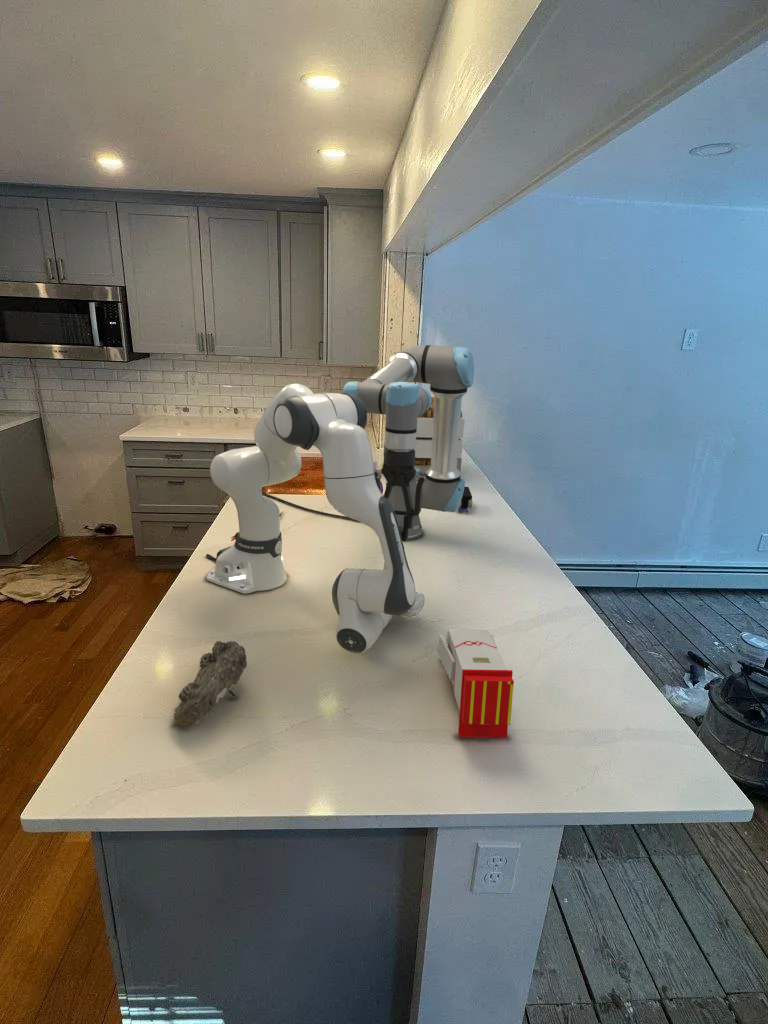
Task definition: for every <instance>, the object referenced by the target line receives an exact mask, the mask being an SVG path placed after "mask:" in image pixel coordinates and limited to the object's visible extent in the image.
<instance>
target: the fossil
mask: <svg viewBox="0 0 768 1024" xmlns="http://www.w3.org/2000/svg"><path fill="white" fill-rule="evenodd" d="M247 666H248V661H247V652H246V648H244V646H242V645H240V644H239V642H237V641H236V640H229V641H227V642H225V641H221V640H217V641H216V642H214V644H213V646H212V648H211V652H206V653H204V654H203V655H202V656H201V657H200V661H199V667H200V669H199V670H198V673H197V674H196V676H195V678H194V680H193V682H189V683H187V684H186V686H184V687H182V689H181V690H180V692H179V694H178V699H179V700H180V701H181V702H180V703H179V705H178V706H177V707H176V708H175V709H174V712H175V713H173V716H174V717H173V718H174V723H175V725H176V724H177V725H180V726H181V727H187V726H192V725H198V724H200V723H201V721H203V719H204V718H206V717H207V716H209V715H210V713H211V712H212V711H213V710H214V709H215V708H216V707H218V705H220V704H221V703H222V701H223V700H224V697H226V696H227V695H228V694H230V695H231V696H232V697H233V698H235V697H236V694H235V693H234V692H233V691H232V688H233V686H235V685H237V684H238V682H239V681H240V680H241V676H242V674H243V673H244V670H245V669H247Z"/></svg>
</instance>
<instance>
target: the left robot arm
mask: <svg viewBox="0 0 768 1024" xmlns="http://www.w3.org/2000/svg"><path fill="white" fill-rule="evenodd" d="M367 422H368V413H367V411H366V407H365V405H364V403H363V401H362V400H361V399H360V398H359V397H357V396H355V395H353V394H349V393H343V392H339V393H336V392H318V393H314V392H313V391H312V390H311V389H310V388H309V387H308V386H306V385H304V384H301V383H289V384H287V385H285V386H284V387H283V388H282V389H280V391H278V393H276V395H275V396H274V397H273V399H272V400H271V401H270V403H269V404H268V406H267V407H266V408H265V410H264V412H263V414H262V415H261V417H260V419H259V420H258V422H257V423H256V426H255V428H254V431H253V438H254V443H255V445H253V446H246V447H240V448H233V449H232V448H231V449H229V450H227V451H224V452H221V453H219V454H216V455H215V456H214V457H213V459H212V461H211V463H210V467H209V473H210V479H211V481H212V482H213V484H214V486H215V487H216V488H217V489H218V490H220V491H222V492H223V493H225V494H226V495H228V496H229V497H230V498H231V500H232V502H234V505H235V508H236V512H237V519H238V530H239V531H237V532H236V533H235V534H234V535H233V536H231V537H230V541H231V542H233V541H234V544H232V545H229V546H227V547H225V548H222V549H219V551H217V552H216V557H214V556H213V555H211V554H209V553H206V555H205V556H206V557H207V558H208V559H210V560H211V561H213V562H215V564H214V567H213V568H212V569H210V571H208V573H207V575H206V580H207V581H208V582H210V583H213V584H216V585H219V586H221V587H224V588H227V589H230V590H233V591H235V592H238V593H240V594H245V595H246V594H250V593H254V592H260V591H269V590H273V589H276V588H279V587H281V586H283V584H285V583H286V581H287V580H288V579H287V578H288V577H287V574H286V571H285V567H284V563H283V560H284V558H283V556H282V552H283V551H282V550H283V537H282V532H281V521H280V520H281V519H280V518H281V516H280V514H281V512H280V508H279V506H278V505H277V503H276V502H275V501H273V500H272V499H271V498H269V497H265V496H264V495H262V492H263V491H262V490H263V488H264V487H268V486H274V485H277V484H283V483H285V482H287V481H289V480H292V479H294V478H295V477H298V475H299V474H300V472H301V469H302V465H303V461H302V457H301V454H300V452H299V450H298V449H297V448H298V447H299V448H301V449H302V450H306V451H309V450H310V449H312V447H315V448H316V449H317V450H318V451H319V452H320V454H321V457H322V472H323V483H324V484H323V485H324V492H325V496H326V499H327V501H328V503H329V505H330V506H331V507H332V508H333V509H334V510H335V511H336V512H338V513H339V514H341V515H342V516H346V517H349V518H352V519H354V520H357V521H356V522H358V521H360V523H362V524H364V525H365V526H367V527H369V528H370V529H371V530H373V532H375V534H376V536H377V538H378V541H379V543H380V545H379V546H380V549H381V553H382V557H383V562H384V561H385V565H386V570H384V569H381V568H380V569H378V568H377V569H375V568H360V567H353V568H352V567H350V568H349V567H346V568H343V570H341V571H340V573H339V574H338V575H337V577H336V578H335V579H334V581H333V584H332V587H331V600H332V605H333V608H334V609H335V611H336V613H337V615H338V617H339V619H338V620H339V621H338V625H337V627H336V631H335V638H336V641H337V644H338V645H339V646H340V647H341V648H342V649H344V650H345V651H346V652H350V653H353V654H354V653H355V654H360V653H364V652H366V651H367V650H369V649H370V648H371V647H372V646H373V645H374V644H375V643H376V641H378V639H379V637H380V635H381V634H382V632H383V630H384V629H385V628H386V626H387V625H388V624H389V622H390V621H391V619H392V618H393V616H395V617H405V618H414V617H418V616H419V615H420V613H421V612H422V611H423V609H424V608H425V603H426V602H425V601H426V596H425V594H424V593H422V592H417V589H416V583H415V580H414V577H413V574H412V572H411V569H410V566H409V563H408V559H407V555H406V551H405V545H404V541H403V540H402V538H401V533H400V529H399V525H398V522H397V518H396V514H395V511H394V508H393V506H392V503H391V501H390V500H389V499H387V498H386V497H384V494H382V493H381V492H380V490H379V488H378V486H377V483H376V480H375V474H374V457H373V453H372V447H371V442H370V440H369V436H368V433H367V431H366V430H365V428H366V426H367ZM354 520H353V521H354ZM403 545H404V546H403Z"/></svg>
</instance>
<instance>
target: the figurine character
mask: <svg viewBox="0 0 768 1024" xmlns="http://www.w3.org/2000/svg"><path fill="white" fill-rule="evenodd" d="M473 502H474V501H473V495H472V492H471V489H470V486H465V487H464V492H463V496H462V499H461V502H460V505H459V507H458V512H459V513H462V511H465V512H466V513H469V510H468V509H470V510H471V509H473V507H474V503H473Z"/></svg>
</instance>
